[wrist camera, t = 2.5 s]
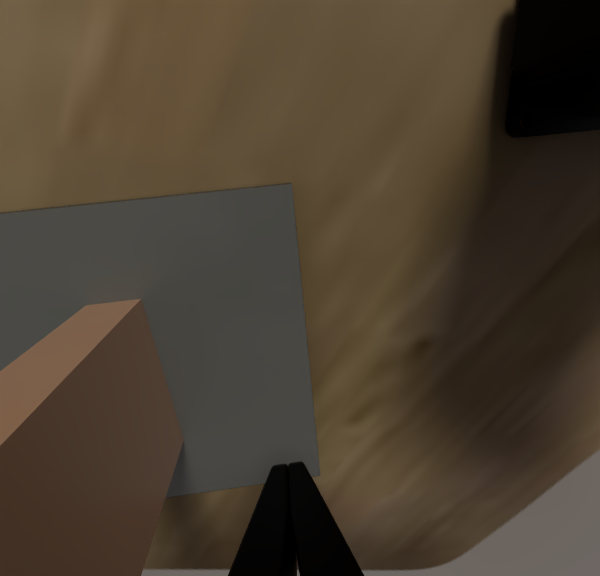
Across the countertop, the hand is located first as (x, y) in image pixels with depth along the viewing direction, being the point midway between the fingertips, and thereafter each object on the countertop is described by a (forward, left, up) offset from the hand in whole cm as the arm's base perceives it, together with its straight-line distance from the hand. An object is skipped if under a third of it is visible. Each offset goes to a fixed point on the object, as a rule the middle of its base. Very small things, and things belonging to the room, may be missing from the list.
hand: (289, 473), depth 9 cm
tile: (+6, 0, -5) cm, 8 cm away
